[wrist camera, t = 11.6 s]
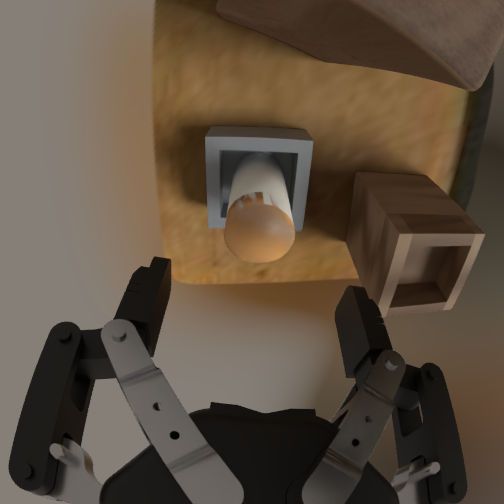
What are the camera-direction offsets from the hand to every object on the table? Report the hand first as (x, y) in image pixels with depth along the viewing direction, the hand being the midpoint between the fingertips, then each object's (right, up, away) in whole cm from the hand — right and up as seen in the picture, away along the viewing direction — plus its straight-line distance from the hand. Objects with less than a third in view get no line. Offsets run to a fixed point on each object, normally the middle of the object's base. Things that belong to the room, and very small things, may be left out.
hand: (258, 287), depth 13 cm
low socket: (0, +8, +12) cm, 15 cm away
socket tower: (+13, +6, +14) cm, 19 cm away
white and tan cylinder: (0, +8, +11) cm, 14 cm away
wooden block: (+2, +19, +4) cm, 20 cm away
